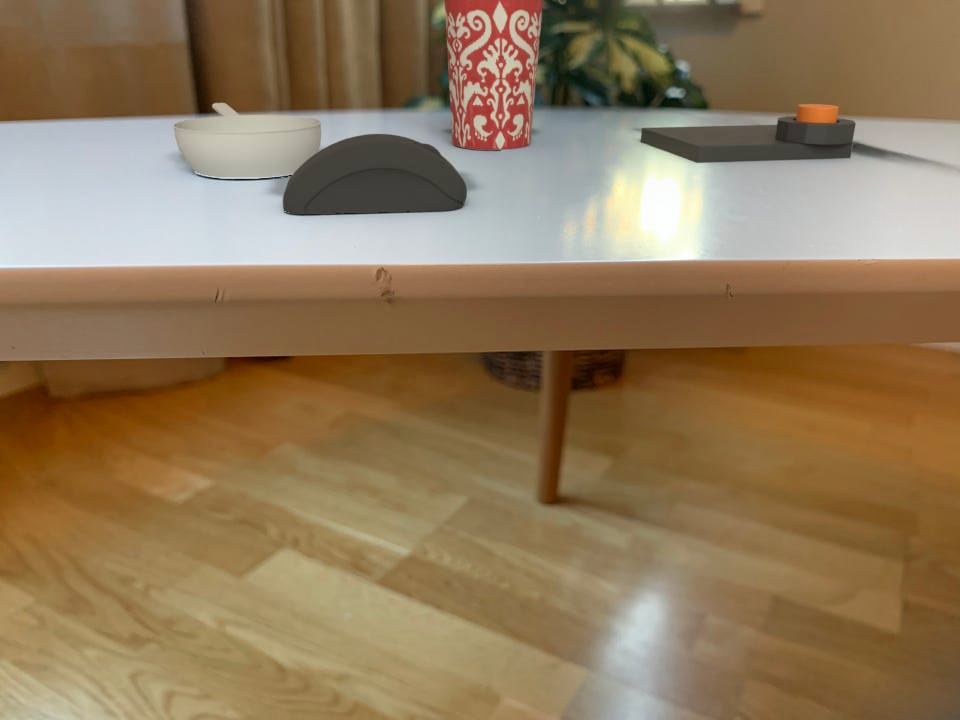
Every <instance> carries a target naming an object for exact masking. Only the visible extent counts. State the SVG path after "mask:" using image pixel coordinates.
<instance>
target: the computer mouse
mask: <svg viewBox="0 0 960 720" xmlns="http://www.w3.org/2000/svg"><path fill="white" fill-rule="evenodd" d="M467 197H468V189H467V185H466V182H465V181H464V178H463V177H462V175H460V173H459V172H458V170H457V169H456V168H455V167H454V165H453V164H452V163H451V162H450V161H449V160H448V159H447V158H446V157H444V156H443V155H442V153H441V152H440V151H439V150H438V149H437V148H436V147H435V146H433V145H431V144H429V143H423V142H420V141H417V140H415V139H412V138H409V137H405V136H402V135H397V134H390V133H389V134H388V133H367V134H361V135H360V134H359V135H355V136H351V137H348V138H347V137H346V138H343V139H341V140H339V141H336V142H334V143H332V144H329V145H328V146H326V147H323V148H322V149H321V150H318V152H317V153H316V154H314V155H313V156H312V157H310V158H309V159H308V160H307V161H306V162H304V163H303V164H302V165H301V166H300V167H299V168H298V169H297V170H296V171H295V173H294V174H293V175H292V176H289V179H288V181H287V183H286V186H285V189H284V192H283V196H282V208H283V209H284V210H283V212H284V211H286V212H289V213H292V214H291V215H295V214H320V215H337V214H336V213H340V214H339V215H345V214H344V213H356V214H380V213H379V212H391V213H420V212H421V213H422V212H424V213H425V212H427V213H428V212H447V210H448V211H454V210H459V209H461V208H463V207H464V205H465V203H466V201H467ZM407 211H409V212H407ZM286 212H285V213H286ZM289 213H288V214H289Z"/></svg>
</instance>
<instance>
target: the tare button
mask: <svg viewBox="0 0 960 720" xmlns="http://www.w3.org/2000/svg"><path fill="white" fill-rule="evenodd" d="M839 108H840V107H839V106H837V105H832V104H823V103H822V104H819V103H803V104H802V103H801V104H798V106H797V111H796V116H797V117H796V121H800V122H810V123H836V121H837V118H838V115H839V114H838V113H839V110H840V109H839Z"/></svg>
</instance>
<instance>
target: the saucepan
mask: <svg viewBox="0 0 960 720" xmlns="http://www.w3.org/2000/svg"><path fill="white" fill-rule="evenodd" d="M211 107H212V108H211V109H213V110H214V111H215V112H216V113H218V114H219V116H207V117H200V118H199V117H197V118H191V119H186V120H182V121H181V120H180V121H177V122H174V123H173V124H172V127H173V132H174V138H175V142H176V145H177V149H178V151H179V152H180V154H181V156H182V157H183V159H184V160H185V162H187V164H188V165H189V167H190V168H192V170H193V171H194V172H195V171H196V172H197V173H200V174H203V175H208V176H215V177H272V176H280V175H282V176H283V175H292V174H294V173H295V171H296V170H297V169H298V168H299V167H300V166H301V165H302V164H303V163H304V162H306V161H307V160H308V159H309V158H310V157H312V156H313V155H314V154H316V153H317V152H319V151H320V150H319V149H320V148H321V143H322V141H321V140H322V120H320V119H318V118H314V117H310V116H300V115H287V114H286V115H284V114H242V115H241V114H239V113H238V112H237V111H235V110H234V108H232V107H231V106H230V105H228V104H227V103H225V102H214V103H213V104H212V105H211Z"/></svg>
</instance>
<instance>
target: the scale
mask: <svg viewBox="0 0 960 720" xmlns="http://www.w3.org/2000/svg"><path fill="white" fill-rule="evenodd" d="M796 117H797V115H795V116H794V115H793V116H792V115H791V116H789V115H788V116H781V117H777V122H776V124H760V125H759V124H758V125H757V124H756V125H714V126H713V125H712V126H711V125H708V126H667V127H665V126H664V127H661V126H660V127H642V128H641V133H640V143H641V144H645V145H647V146H650V147H652V148H655V149H658V150H660V151H663V152H666V153H669V154H672V155H674V156H677V157H680V158H683V159H685V160H688V161H691V162H693V163H697V164H706V163H708V164H710V163H712V164H713V163H733V162H734V163H739V162H768V161H769V162H771V161H801V160H802V161H803V160H831V159H832V160H834V159H835V160H836V159H851V156H852V150H853V145H854V142H853V141H854V135H855V129H856V121H855V120H852V119H847V118H840V117H837V121H836V123H810V122H800V121H796Z"/></svg>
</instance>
